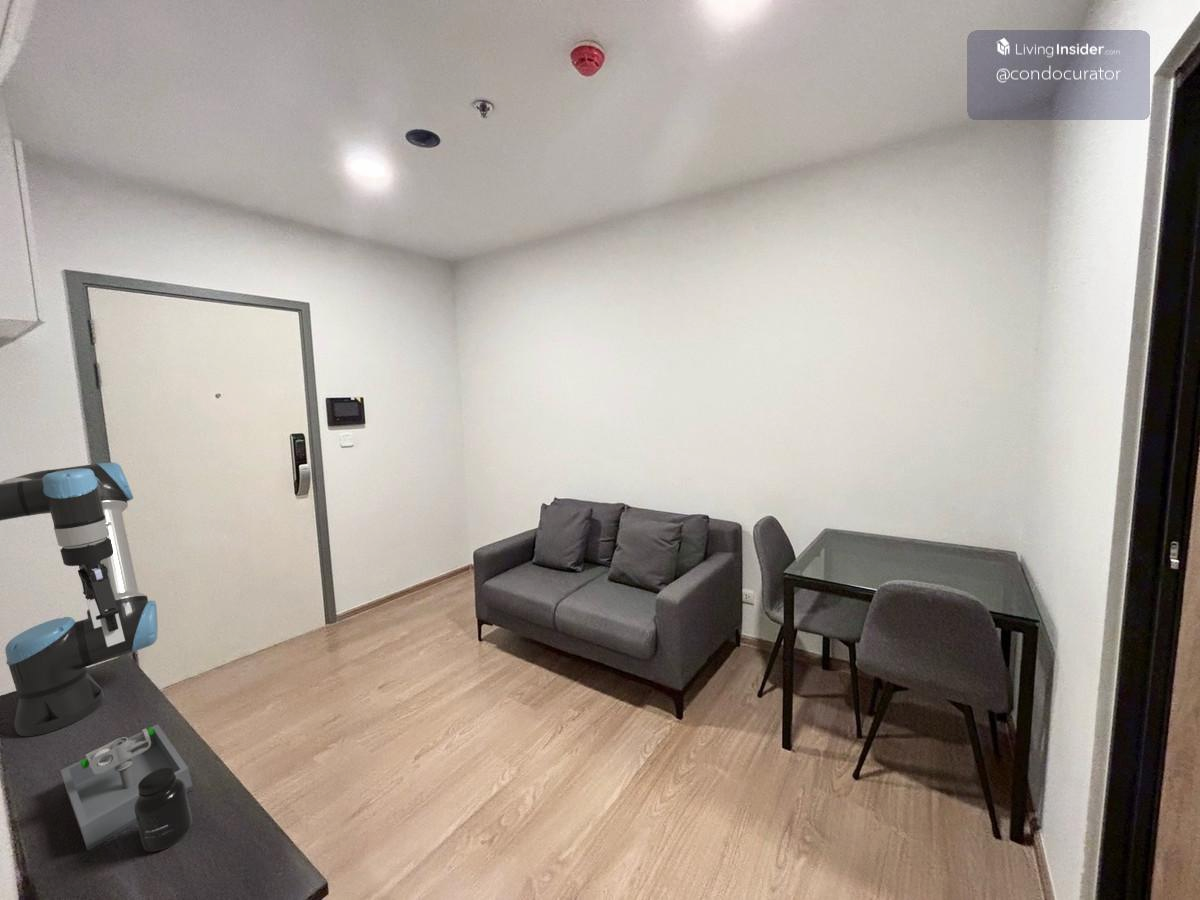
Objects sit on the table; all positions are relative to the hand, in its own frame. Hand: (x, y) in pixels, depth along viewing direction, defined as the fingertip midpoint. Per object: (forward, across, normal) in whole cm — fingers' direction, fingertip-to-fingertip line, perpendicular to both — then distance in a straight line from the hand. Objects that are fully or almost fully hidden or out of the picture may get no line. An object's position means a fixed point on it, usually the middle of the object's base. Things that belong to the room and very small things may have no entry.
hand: (109, 634), depth 108 cm
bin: (+27, -18, +4) cm, 32 cm away
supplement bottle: (+27, -37, +2) cm, 46 cm away
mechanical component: (+26, -17, +4) cm, 31 cm away
